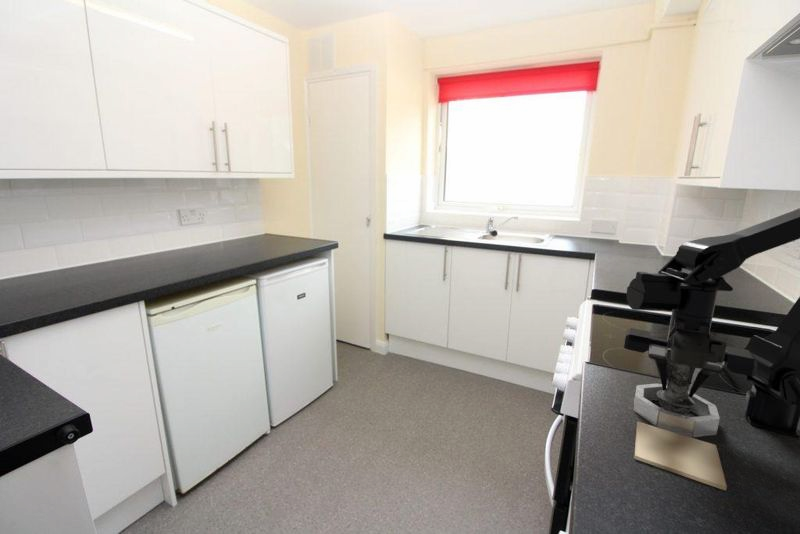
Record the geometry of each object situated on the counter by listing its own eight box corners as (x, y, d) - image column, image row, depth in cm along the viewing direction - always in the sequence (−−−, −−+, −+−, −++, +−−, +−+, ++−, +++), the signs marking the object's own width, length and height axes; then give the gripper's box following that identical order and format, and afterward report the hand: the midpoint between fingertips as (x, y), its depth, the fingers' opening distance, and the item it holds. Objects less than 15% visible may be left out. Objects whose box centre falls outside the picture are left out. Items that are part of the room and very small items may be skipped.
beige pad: (715, 448, 62) (715, 445, 62) (726, 490, 53) (726, 487, 53) (636, 424, 68) (637, 421, 68) (634, 458, 59) (634, 455, 58)
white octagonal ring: (710, 411, 73) (713, 397, 72) (719, 445, 62) (723, 429, 62) (635, 391, 79) (637, 378, 79) (632, 419, 69) (635, 404, 69)
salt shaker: (655, 403, 75) (665, 346, 73) (692, 414, 71) (704, 355, 69) (651, 416, 70) (662, 356, 68) (691, 429, 67) (703, 366, 64)
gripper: (628, 313, 65) (616, 395, 68) (776, 338, 55) (753, 433, 58) (631, 299, 74) (620, 372, 77) (758, 319, 64) (739, 402, 67)
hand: (676, 392), depth 70 cm, fingers open, 4 cm apart
